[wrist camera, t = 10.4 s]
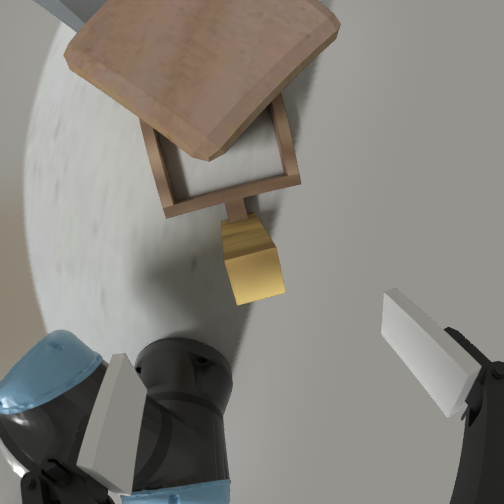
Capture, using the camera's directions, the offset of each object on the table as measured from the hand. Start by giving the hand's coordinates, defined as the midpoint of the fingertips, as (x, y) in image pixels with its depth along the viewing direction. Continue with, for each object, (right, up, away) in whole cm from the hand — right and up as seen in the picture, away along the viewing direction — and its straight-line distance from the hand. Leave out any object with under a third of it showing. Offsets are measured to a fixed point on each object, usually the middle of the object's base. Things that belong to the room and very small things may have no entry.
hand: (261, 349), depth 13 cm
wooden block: (-5, +21, +14) cm, 26 cm away
